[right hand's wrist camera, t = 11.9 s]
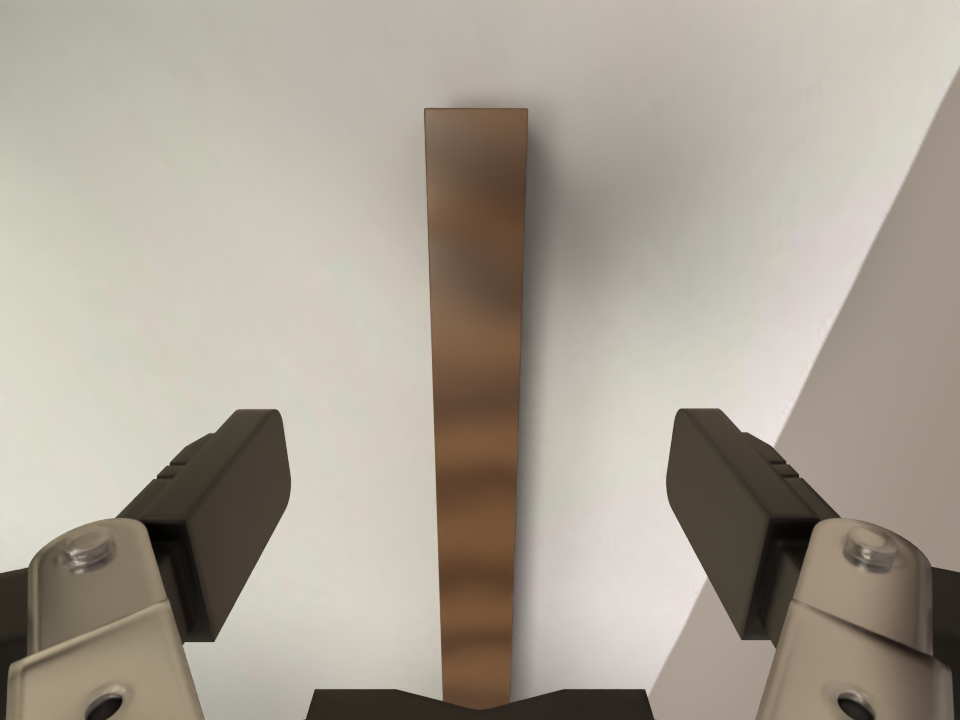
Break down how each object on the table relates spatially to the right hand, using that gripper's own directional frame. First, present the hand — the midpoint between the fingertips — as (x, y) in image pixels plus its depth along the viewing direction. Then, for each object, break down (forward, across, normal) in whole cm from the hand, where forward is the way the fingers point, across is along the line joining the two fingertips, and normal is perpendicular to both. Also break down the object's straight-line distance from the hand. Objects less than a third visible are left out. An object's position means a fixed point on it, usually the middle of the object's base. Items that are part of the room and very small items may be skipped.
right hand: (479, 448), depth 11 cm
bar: (+23, 0, -18) cm, 29 cm away
